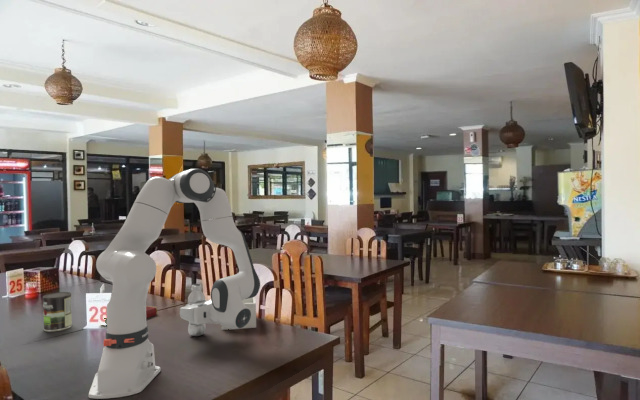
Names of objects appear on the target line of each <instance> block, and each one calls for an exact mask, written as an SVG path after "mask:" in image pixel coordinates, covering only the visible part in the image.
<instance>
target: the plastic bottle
mask: <svg viewBox="0 0 640 400" xmlns="http://www.w3.org/2000/svg"><path fill="white" fill-rule="evenodd" d="M202 286H203V285H202V283H193V284H191V292H190V293H189V295H188V297H187V304H191V305H193V304H197V303H201V302H204V301H205V300H206V297H205V294H204V293H203V291H202V289H203V287H202ZM187 325H188V326H187V332H188V334H189V335H190V336H192V337H199V336H203V335H204V334H205V332H206V328H207V327H206V324H199V325H197V324H195V322H191V321H188V324H187Z"/></svg>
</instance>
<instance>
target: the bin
mask: <svg viewBox="0 0 640 400" xmlns="http://www.w3.org/2000/svg"><path fill="white" fill-rule="evenodd" d="M242 302H243V303H244V305H245V306H246V307H247V308H249V309H250V311H251V318H250V321H249V322H248V324H247V325H246V326H244V327H243V328H240V329H241V330H242V329H252V328H253V329H254V328H257V307H256V306H257V302H256V296H255V297H252V298H248V299H244V300H242ZM220 325H221V324H220ZM220 327H221V331H225V330H226V331H227V330H228V329H229V330H234V329H233V328H228V327H225V326H223V325H221V326H220ZM240 329H239V330H240Z"/></svg>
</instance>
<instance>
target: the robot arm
mask: <svg viewBox="0 0 640 400" xmlns="http://www.w3.org/2000/svg"><path fill="white" fill-rule="evenodd" d="M213 181H214V180H213V179H212V177H211V175H210V174H209V173H208V172H207V171H206V170H204V169H201V168H190V169H185V170H183V171H182V170H181V171H180V172H178V173H176V174H174V175H172V176H170V177H169V178H168V179H167V178H166V177H163V176H153V177H151V178H149V179H148V180H147V181H146V183H144V185H143V186H142V188H140V189H141V190H140V191H139V193H138V194H137V196H136V199H135V200H134V202H133V204H132V206H131V208H130V211H129V212H128V215H127V216H126V218H125V221H124V223H123V225H122V226H121V228H120V229H119V231H118V232H117V233H116V234H115V237H114V238H113V239H112V240H111V242H110V243H109V244H108V246H107V248H106V249H105V250H103V251H102V252H101V253H100V254H99V255H98V257H97V259H96V262H95V263H96V264H95V267H96V270H97V272H98V274H99V275H100V276H101V277H102V278H103V279H105V280H106V281H108V282H111V283H112V290H111V294H110V295H111V296H110V299H109V301H108V303H107V305H106V315H107V326H106V332H105V336H104V339H103V342H102V343H103V348H102V354H101V357H100V362H99V364H98V370H97V372H96V373H95V374H94V378H93V380H92V384H91V386H90V389H89V392H88V398H89V399H97V400H98V399H101V400H102V399H103V400H104V399H105V400H106V399H115V398H123V397H128V396H132V395H136V394H138V393H142V392H143V390H145V388H146V387H147V386H148V385H149V384H150V383H151V382H152V381H153V380H154V378H155V377H157V375H158V374H159V373H160V372H161V367H160V366H157V365H156V360H155V345H154V344H153V343H152V342H151V341H150V340H149V333H150V332H149V325H147V318H146V306H147V300H148V294H149V289H150V284H151V282H152V281H153V280H154V279H155V277H156V275H157V263H156V261H155V260H154V258H153V257H152V256H150V255H149V254H147V253H146V251H147V250H148V249H149V247H150V246H151V245H152V244H153V243H154V242H155V241H157V240H158V239H159V237H160V235H161V232H162V230H163V227H164V225H165V223H166V221H167V220H168V216H169V214H170V211H171V208H172V207H173V206H174V204H175V203H178V204H186V203H187V204H189V203H194V204H195V206H196V207H197V208H198V211H199V216H200V217H199V218H200V224H201V229H202V232H203V233H202V234H203V235H204V237H205V238H206V239H207V240H208V241H210V242H211V243H213V244H217V245H221V246H225V247H228V248H230V249H231V250H232V252H233V255H234V258H235V262H236V265H237V268H238V272H237V273H236V274H233V275H229V276H225V277H223V278H219V279H216V280H215V281H214V283H213V284H212V287H211V291H210V299H209V300H208V299H205V301H204V302H201V303H197V304H193V305H191V304H188V303H187V304H185V306H181V307H180V308H179V317H180V318H181V319H182V320H184V321H187V322H189V321H191V322H195V324H197V325H199V324H205V325H207V324H216V325H223V326H225V327H228V328H233V329H232V330H240V328H242V329H244V328H243V327H244V326H246V325H247V324H248V322H249V321H250V318H251V311H250V309H249V308H247V307H246V306H245V305H244V303H243V302H242V300H244V299H248V298H252V297H255V298H256V296H257V295H258V293H259V292H260V289H261V280H260V278H259V275H258V273H257V271H256V269H255V266H254V263H253V259H252V256H251V254H250V250H249V247H248V244H247V241H246V238H245V235H244V233H243V232H242V231H241V230H240V229H239V228H237V225H236V224H235V222H234V217H233V213H232V208H231V203H230V200H229V198H228V196H227V193H226V191H225V190H224V189H223V188H219V187H217V186H216V184H215V182H213Z"/></svg>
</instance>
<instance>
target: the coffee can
mask: <svg viewBox="0 0 640 400" xmlns="http://www.w3.org/2000/svg"><path fill="white" fill-rule="evenodd" d="M42 305H43V307H42V309H43V310H42V311H43V312H42V313H43V331H44V332H46V333H47V332H50V333H51V332H52V333H53V332H60V331H64V330H65V331H66V330H67V329H70V328H72V327H73V323H72V292H70V291H67V292H66V291H62V292H53V293H52V292H51V293H48V294H44V295H43V296H42Z"/></svg>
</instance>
